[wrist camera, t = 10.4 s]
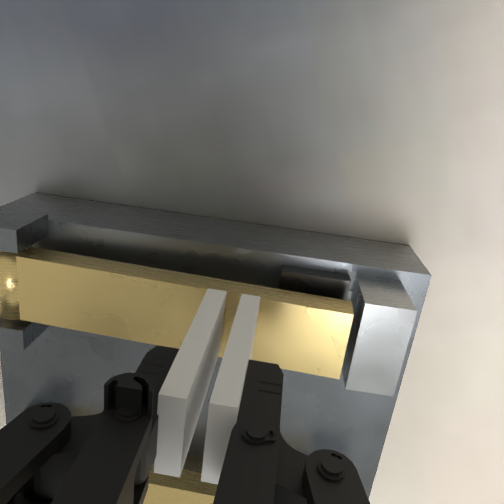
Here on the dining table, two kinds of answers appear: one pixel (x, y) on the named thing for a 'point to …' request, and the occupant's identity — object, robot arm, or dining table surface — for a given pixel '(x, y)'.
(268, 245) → the base
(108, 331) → the latch bar front
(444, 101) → the dining table surface
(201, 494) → the bar
